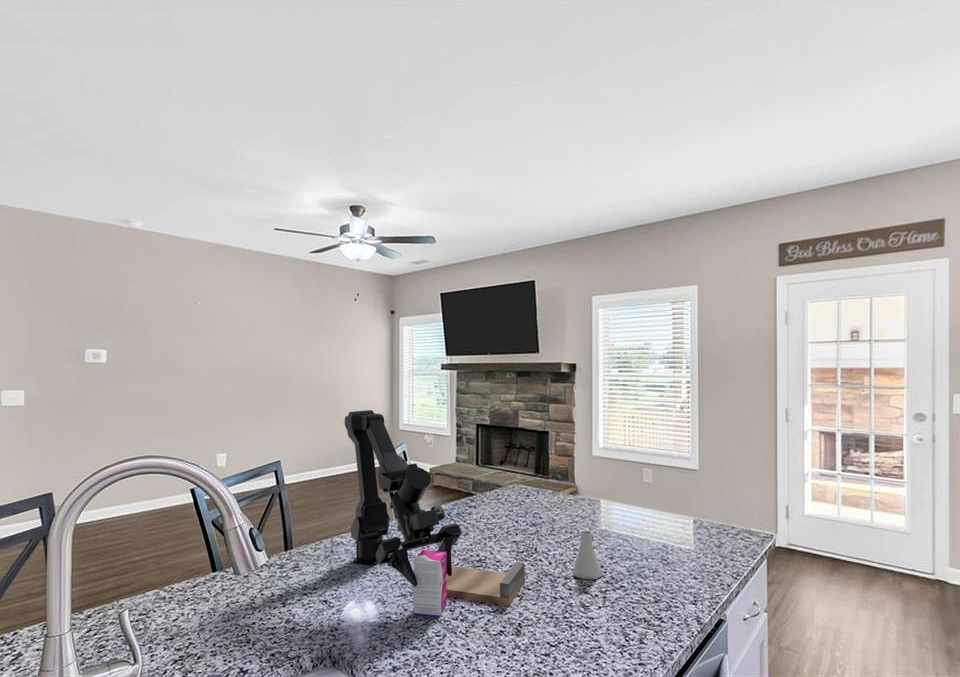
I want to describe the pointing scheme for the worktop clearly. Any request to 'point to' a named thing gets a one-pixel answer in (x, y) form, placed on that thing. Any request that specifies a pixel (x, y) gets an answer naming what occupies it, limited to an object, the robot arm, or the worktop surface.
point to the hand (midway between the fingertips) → (433, 580)
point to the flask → (586, 558)
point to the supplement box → (430, 583)
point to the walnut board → (486, 584)
